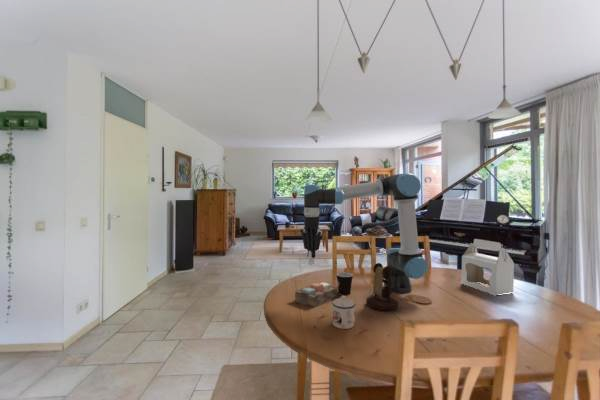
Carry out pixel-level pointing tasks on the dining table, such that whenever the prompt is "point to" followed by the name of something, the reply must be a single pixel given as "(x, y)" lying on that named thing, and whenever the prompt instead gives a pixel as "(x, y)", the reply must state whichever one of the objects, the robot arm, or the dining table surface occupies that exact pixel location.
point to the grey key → (308, 290)
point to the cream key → (325, 285)
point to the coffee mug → (344, 283)
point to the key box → (316, 296)
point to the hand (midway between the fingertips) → (311, 264)
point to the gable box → (499, 266)
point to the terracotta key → (317, 286)
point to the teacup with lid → (343, 313)
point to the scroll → (382, 289)
